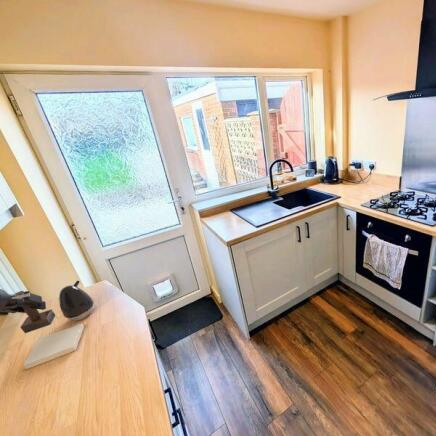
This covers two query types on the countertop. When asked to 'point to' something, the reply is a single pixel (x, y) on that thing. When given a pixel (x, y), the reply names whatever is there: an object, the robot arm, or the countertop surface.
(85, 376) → the countertop surface
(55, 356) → the tile
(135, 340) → the countertop surface
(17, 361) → the countertop surface
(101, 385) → the countertop surface
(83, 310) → the black pear
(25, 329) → the brown peg on base
